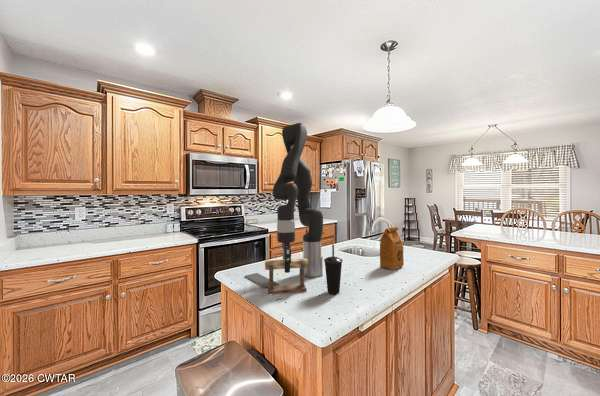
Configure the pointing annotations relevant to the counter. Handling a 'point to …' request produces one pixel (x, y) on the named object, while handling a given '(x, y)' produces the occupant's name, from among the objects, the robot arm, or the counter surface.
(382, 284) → the counter surface
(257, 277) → the grey flat plank
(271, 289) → the rack
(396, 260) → the coffee package
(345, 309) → the counter surface
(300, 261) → the rail
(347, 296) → the counter surface
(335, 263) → the drinking cup
